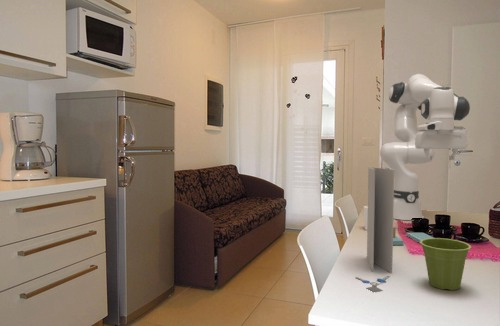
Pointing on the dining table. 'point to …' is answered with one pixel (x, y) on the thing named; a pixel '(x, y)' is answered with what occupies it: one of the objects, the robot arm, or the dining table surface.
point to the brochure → (380, 217)
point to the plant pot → (445, 261)
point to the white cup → (365, 216)
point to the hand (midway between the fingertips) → (440, 160)
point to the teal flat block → (418, 236)
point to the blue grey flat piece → (374, 287)
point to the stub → (396, 238)
